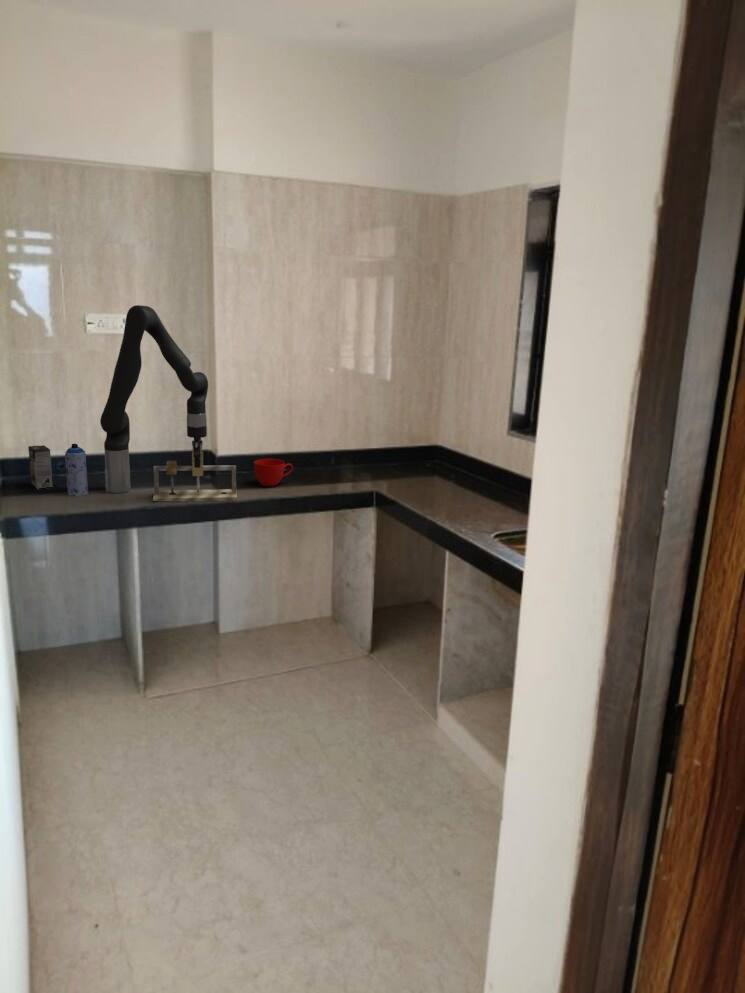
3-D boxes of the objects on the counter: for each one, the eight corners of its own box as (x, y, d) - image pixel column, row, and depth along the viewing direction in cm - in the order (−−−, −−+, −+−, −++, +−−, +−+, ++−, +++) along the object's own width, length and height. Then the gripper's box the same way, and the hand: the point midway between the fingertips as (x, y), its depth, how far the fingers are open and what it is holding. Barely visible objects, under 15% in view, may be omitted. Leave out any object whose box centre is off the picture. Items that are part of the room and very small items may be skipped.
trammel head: (193, 493, 295) (191, 454, 291) (193, 490, 300) (192, 451, 296) (203, 493, 296) (202, 454, 292) (203, 490, 301) (202, 451, 296)
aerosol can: (67, 491, 299) (63, 442, 294) (88, 490, 302) (85, 441, 297) (67, 496, 292) (63, 446, 287) (88, 495, 295) (85, 445, 290)
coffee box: (31, 484, 307) (27, 446, 303) (47, 482, 311) (44, 444, 307) (36, 489, 300) (33, 450, 296) (53, 487, 304) (50, 448, 300)
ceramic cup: (296, 487, 320) (297, 464, 317) (257, 489, 314) (257, 466, 311) (288, 479, 331) (288, 457, 329) (251, 481, 325) (250, 459, 322)
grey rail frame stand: (153, 502, 290) (151, 465, 286) (155, 493, 301) (154, 458, 297) (236, 500, 296) (236, 465, 292) (236, 492, 307) (236, 458, 303)
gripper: (187, 421, 297) (188, 461, 301) (185, 427, 283) (187, 469, 288) (207, 421, 298) (208, 460, 302) (206, 427, 285) (207, 469, 289)
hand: (197, 464), depth 295 cm, fingers open, 8 cm apart
